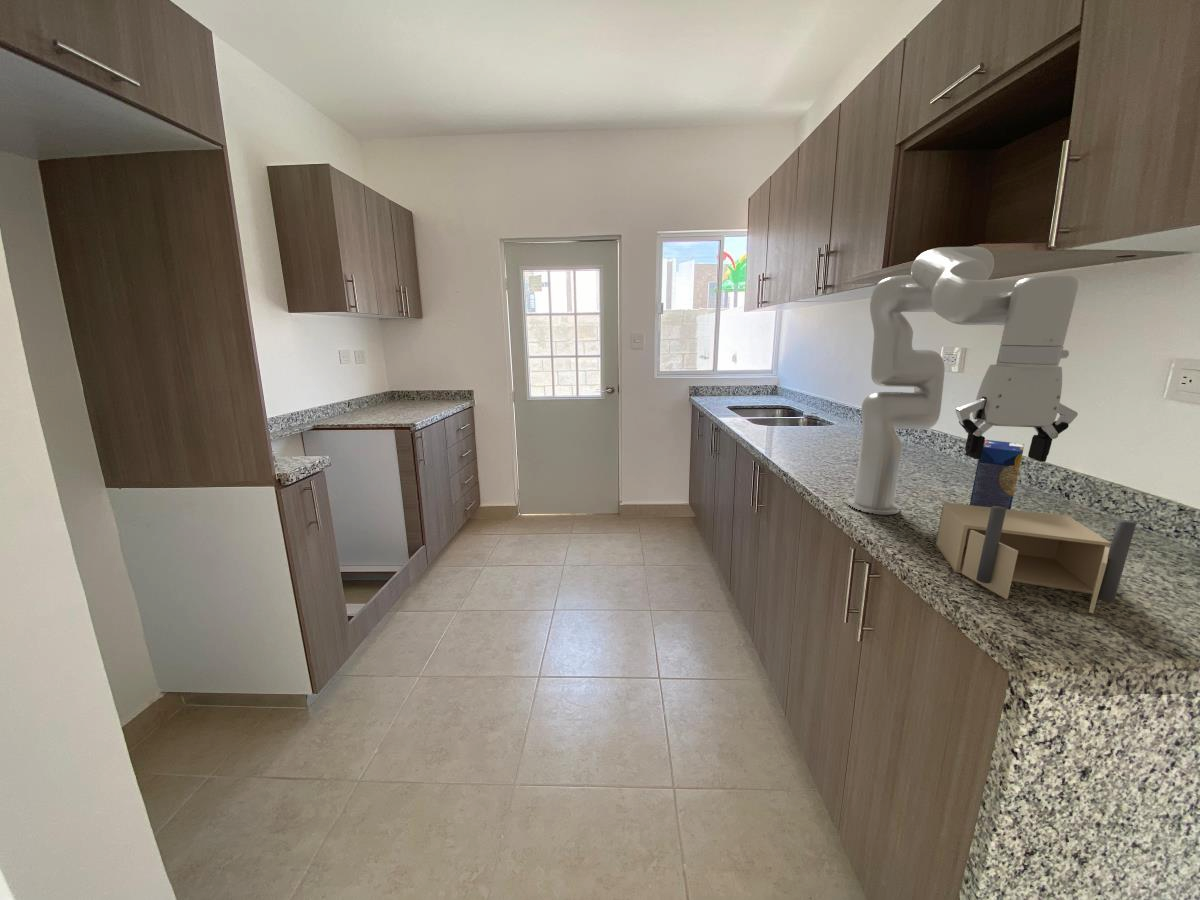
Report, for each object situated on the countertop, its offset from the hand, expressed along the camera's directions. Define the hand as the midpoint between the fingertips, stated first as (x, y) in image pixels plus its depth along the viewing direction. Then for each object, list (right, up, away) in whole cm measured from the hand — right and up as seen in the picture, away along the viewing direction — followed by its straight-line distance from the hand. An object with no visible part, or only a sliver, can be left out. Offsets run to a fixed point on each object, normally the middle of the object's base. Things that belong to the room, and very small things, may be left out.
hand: (1004, 458), depth 79 cm
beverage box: (+20, -19, +28) cm, 39 cm away
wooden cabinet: (+13, -22, +14) cm, 29 cm away
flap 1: (0, -24, +6) cm, 24 cm away
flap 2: (+16, -25, -1) cm, 30 cm away
